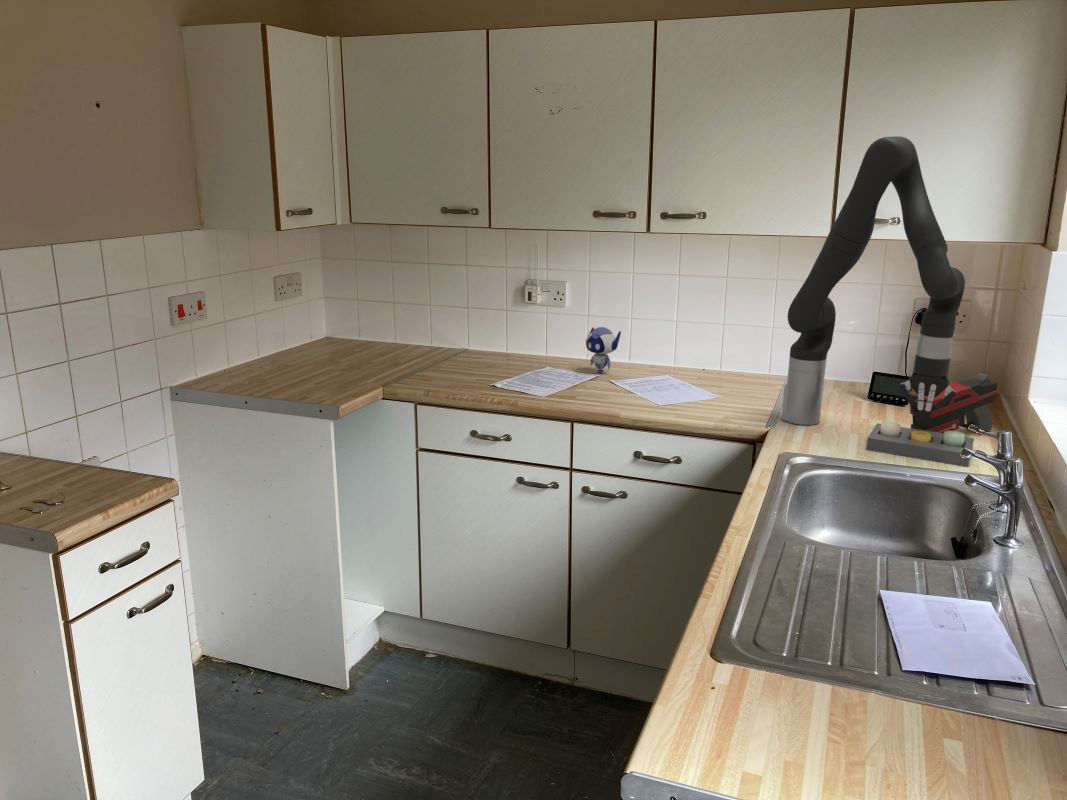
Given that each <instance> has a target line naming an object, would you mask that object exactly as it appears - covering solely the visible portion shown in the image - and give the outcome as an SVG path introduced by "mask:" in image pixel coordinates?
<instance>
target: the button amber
mask: <svg viewBox="0 0 1067 800" xmlns="http://www.w3.org/2000/svg"><path fill="white" fill-rule="evenodd" d="M931 436H932V435H931V434H930V433H928V432H923V431H913V432H912V433H911V439H912V440H919V441H925V442H931Z"/></svg>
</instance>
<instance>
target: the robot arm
mask: <svg viewBox="0 0 1067 800" xmlns="http://www.w3.org/2000/svg"><path fill="white" fill-rule="evenodd" d="M890 184H892V186H893V187H894V189H895V191H896V193H897V196H898V199H899V202H900V207H901V208H900V209H901V214H902V222H903V223H902V224H903V229H904V233H905V235H906V239H907V241H908V244H909V246H910V248H911V251H912V253H913V255H914V257H915V259H916V263H917V269H918V273H919V277H920V281H921V284H922V288H923V290H924V291H925V293H926V294H927V296H928V297H930V299H929V302H928V307H927V309H926V310H925V311H924V313H923V315H922V320H921V325H920V332H919V336H918V340H917V344H916V351H915V355H914V362H913V369H912V374H911V375H910V377H909V379H908V380H907V381H903V382H900V384H899V385H898V388H899V390H900V391H901V393H902V394H903V396H904V397H905V399H906V401H907V403H908V404H909V406H910V405H911V406H913V407H915V408H917V416H916V422H917V423H918V425H922V426H925V424H928V422H929V420H930V413H931V411H932V410H939V409H940V408H941V407H942V406H944V405H945V404H946V403H947V402H949V401H950V400H951V399H952V398H954V397H955V396H956V394H957V391H956V390H953V389H952V388H951V387H950V386H949V384H950V381H949V378H948V377H949V371H950V365H951V358H952V355H953V347H954V346H953V345H954V333H955V327H956V322H957V320H956V319H957V315H958V311H959V308H960V307H961V303H962V299H963V296H964V294H965V293H964V292H965V287H966V279H965V276H964V273H963V272H962V271H961V270H960V269H959V268H956V267H952V266H951V264H950V261H949V259H948V255H947V254H948V250H949V249H948V244H947V241H946V239H945V237H944V235H943V234H944V233H943V232H942V229H941V226H940V225H939V223H938V220H937V218H936V215H935V213H934V211H933V208H932V205H931V202H930V199H929V197H928V192H927V189H926V185H925V182H924V178H923V175H922V170H921V165H920V160H919V155H918V152H917V150H916V146H915V144H914V143H913V142H912V141H911V140H910V138H906V137H904V136H900V135H899V136H884V137H881V138H878V139H877V140H874V141H873V142H872V143H871V144H870V145H869V146H868V148H867V150H866V152H865V153H864V156H863V158H862V162H861V164H860V166H859V169H858V171H857V174H856V178H855V180H854V183H853V185H852V187H851V190H850V191H849V194H848V195H847V198H846V199H845V202H844V203H843V205H842V207H841V208H840V212H838V215H837V217H836V219H835V221H834V223H833V225H832V226H831V229H830V231H829V233H828V234H827V237H826V239H825V240H824V241H825V242H824V244H823V246H822V247H821V250H820V252H819V254H818V256H817V258H816V260H815V262H814V263H813V266H812V267H811V269H810V272H809V274H808V275H807V278H806V279H805V281H804V282H803V284H802V286H801V287H800V288H799V290H798V292H797V294H795V297H794V298H793V300H792V301H791V303H790V305H789V308H788V310H787V322H788V325H789V328H791V329H792V331H794V332H796V333H799V334H800V335H799V337H798V339H797V340H796V341H795V342H793V344H791V346H790V350H789V357H788V358H789V360H788V370H787V380H786V384H784V388H783V389H784V390H783V396H782V397H783V399H782V406H781V407H782V409H781V418H780V419H781V421H785V422H787V423H790V424H795V425H802V426H814V425H818V424H819V423H820V421H821V410H822V403H823V396H824V395H823V394H824V393H823V392H824V385H825V376H826V375H825V374H826V369H827V368H826V367H827V358H828V353H829V350H830V349H831V347H832V343H833V339H834V331H835V325H836V316H837V314H836V312H837V311H836V306H835V304H834V301H833V300H832V299H831V298H830V297H829V296H830V293H832V291H833V289H834V288H835V286H837V284H838V283H839V282H840V281H841V280H842V279H843V278H844V277H845V276H846V275H847V274H848V273H849V272H850V271H851V270H852V269H853V267H854V266H855V265H856V264H857V262H858V261H860V258H861V257H862V255H863V254H864V251H865V250H866V248H867V246H868V244H869V243H870V240H871V238H872V235H873V232H874V228H875V224H876V223H875V222H876V215H877V210H878V206H879V204H880V201H881V199H882V197H883V195H884V194H885V192H886V190H887V188H888V186H890ZM911 388H913V390H914V391H915V393H916V395H918V401H916V399H915V398H914V396H913V393H912V392H911ZM945 389H946V391H945V396H944V397H943V398H942V399H941V400H939V401H938V402H937V403H935V404H933V401H934V397H936V396H938V395H939V394H940V393H941V392H942V391H944V390H945ZM925 396H928V400H927V404H926V408H925V409H924V403H925Z"/></svg>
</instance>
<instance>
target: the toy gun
mask: <svg viewBox="0 0 1067 800" xmlns="http://www.w3.org/2000/svg"><path fill="white" fill-rule="evenodd" d="M989 379H990V378H989V374H985V373H982V372H981V373H980V372H979V373H978V374H977V376H976V377H975V378H970V379H966V380H962V381H959V382H953V381H952V382H949V386H950V387H951V388H952V389H953V390H956V391H957V394H956V396H955V397H954V398H952V399H951V400H950V401H949V402H947V403H946V404H945V405H944V406H942V407H941V408H940V409H939V410H932V411H931V413H930V420H929V422H928V424H925V426H922V425H918V423H917V422H916V416H917V408H915V407H913V406H911V405H910V404H909V410H910V413H909V414H910V415H912V423H911V424H910V428H912V429H918V430H925V431H931V432H938V433H944V432H945V431H957V430H960V428H964V429H966V430H968V427H969V425H971V424H973V425H975V426H977V427H978V428H979V429H981V430H984V431H987V432H990V431H991V430H992V429H993V415H992V412H991V411H990V409H989V407H988V405H989V404H991V403H993V402H994V401H995V400H996V398H997V397H998V395H997V394H999V393H1000V390H999V389H998V387H997V386H998V383H997V382H995V381H991V380H989ZM945 391H946V389H945V390H944V391H942V392H941V393H940V394H939V395H938V396H936V397H934V401H933V404H935V403H937V402H938V401H939V400H941V399H942V398H943V397H944V396H945ZM912 395H913V394H912ZM913 396H914V398H915V399H916V401H918V394H914V395H913ZM927 400H928V396H925V403H924V409H925V408H926V404H927ZM989 430H990V431H989ZM968 431H969V430H968Z"/></svg>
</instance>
